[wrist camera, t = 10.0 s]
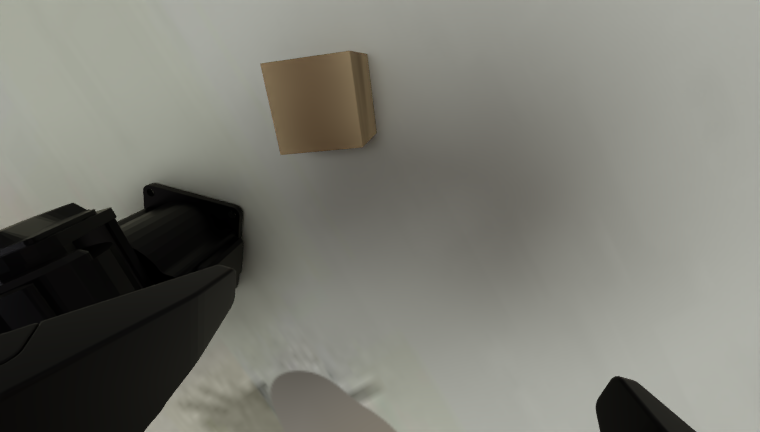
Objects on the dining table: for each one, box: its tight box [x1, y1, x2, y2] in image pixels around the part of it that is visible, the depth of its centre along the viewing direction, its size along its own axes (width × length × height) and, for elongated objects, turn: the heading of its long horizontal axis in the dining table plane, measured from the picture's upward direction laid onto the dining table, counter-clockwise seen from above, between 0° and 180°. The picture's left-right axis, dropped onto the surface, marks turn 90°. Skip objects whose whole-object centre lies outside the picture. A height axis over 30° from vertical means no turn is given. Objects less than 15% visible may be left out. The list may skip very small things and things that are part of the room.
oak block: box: [261, 51, 377, 155], centre depth 18 cm, size 4×4×4 cm
